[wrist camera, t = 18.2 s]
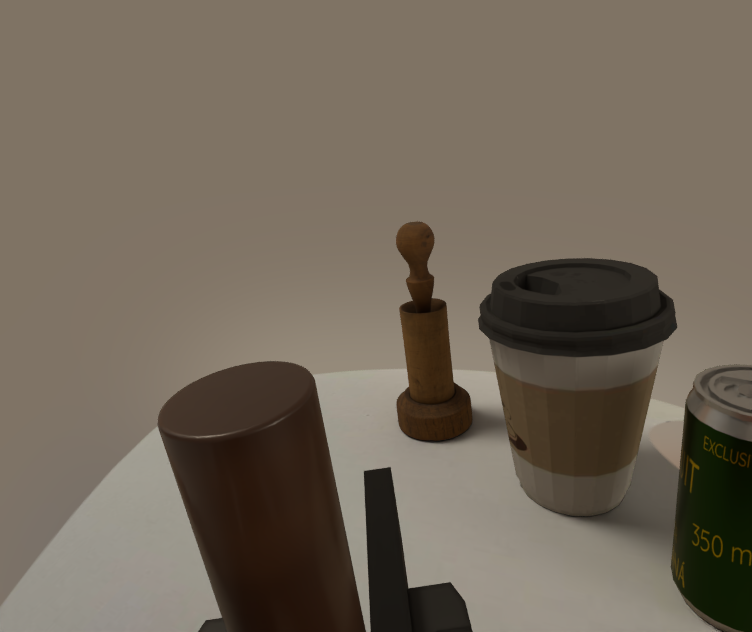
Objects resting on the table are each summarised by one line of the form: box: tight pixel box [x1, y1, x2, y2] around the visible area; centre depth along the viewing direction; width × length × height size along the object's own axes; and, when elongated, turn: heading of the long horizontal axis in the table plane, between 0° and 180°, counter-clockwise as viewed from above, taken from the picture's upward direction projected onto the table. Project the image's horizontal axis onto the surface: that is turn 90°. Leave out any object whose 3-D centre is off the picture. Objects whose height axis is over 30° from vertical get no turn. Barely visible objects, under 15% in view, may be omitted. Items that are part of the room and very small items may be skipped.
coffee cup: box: [478, 258, 677, 516], centre depth 32 cm, size 11×11×15 cm
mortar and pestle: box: [396, 222, 472, 441], centre depth 41 cm, size 7×6×18 cm
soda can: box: [671, 364, 752, 632], centre depth 23 cm, size 5×5×12 cm
